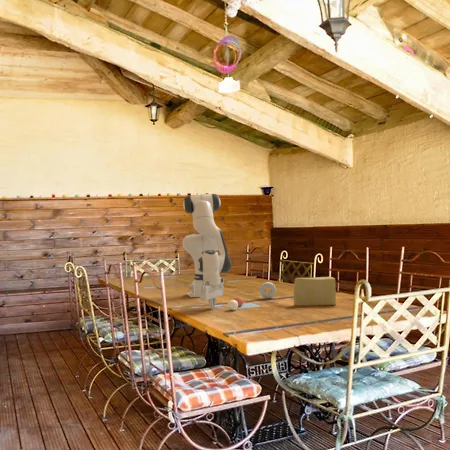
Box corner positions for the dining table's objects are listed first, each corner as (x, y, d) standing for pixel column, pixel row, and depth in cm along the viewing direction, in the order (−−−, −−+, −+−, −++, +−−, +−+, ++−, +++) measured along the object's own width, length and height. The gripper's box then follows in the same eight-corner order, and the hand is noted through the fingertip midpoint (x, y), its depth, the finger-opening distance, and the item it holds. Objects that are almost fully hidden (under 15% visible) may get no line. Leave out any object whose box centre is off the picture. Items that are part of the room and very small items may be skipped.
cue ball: (240, 308, 270) (235, 301, 274) (239, 303, 266) (234, 296, 270) (231, 314, 269) (226, 307, 273) (230, 308, 265) (225, 301, 269)
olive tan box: (295, 307, 275) (294, 279, 275) (292, 304, 285) (292, 277, 284) (336, 305, 276) (335, 277, 275) (332, 302, 285) (331, 275, 285)
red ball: (231, 296, 281) (240, 295, 283) (231, 306, 281) (240, 305, 283) (235, 298, 276) (244, 297, 278) (235, 308, 276) (244, 307, 278)
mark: (228, 305, 285) (228, 305, 285) (250, 303, 291) (250, 302, 291) (239, 309, 272) (239, 308, 272) (262, 306, 278) (262, 306, 278)
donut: (259, 299, 304) (259, 282, 304) (259, 298, 307) (259, 281, 307) (276, 298, 304) (276, 282, 304) (276, 297, 307) (275, 281, 307)
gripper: (207, 283, 262) (208, 310, 263) (225, 278, 281) (226, 303, 281) (196, 283, 265) (197, 309, 265) (215, 278, 284) (215, 303, 284)
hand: (212, 306), depth 273 cm, fingers closed
